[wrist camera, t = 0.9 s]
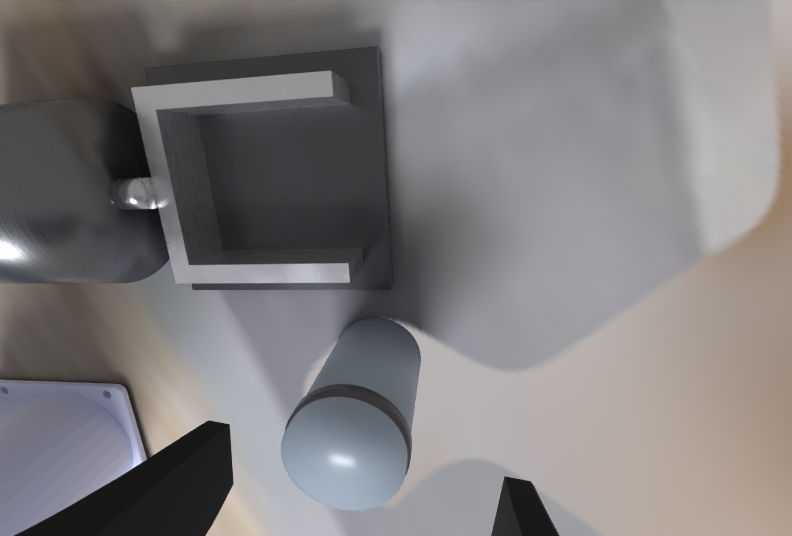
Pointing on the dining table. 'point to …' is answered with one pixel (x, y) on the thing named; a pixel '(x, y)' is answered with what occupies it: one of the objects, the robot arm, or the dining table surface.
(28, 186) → the motor
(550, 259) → the dining table surface
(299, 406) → the banded grey cylinder
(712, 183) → the dining table surface
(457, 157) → the dining table surface
